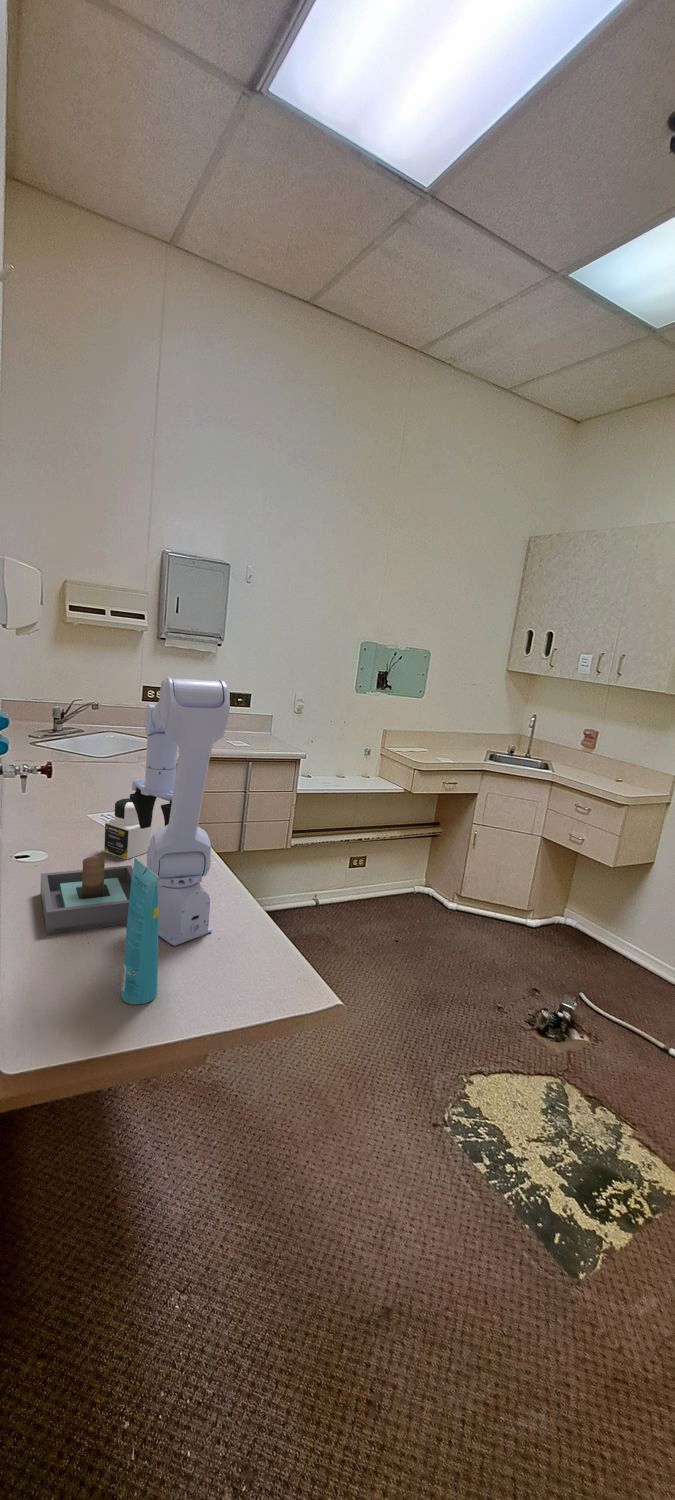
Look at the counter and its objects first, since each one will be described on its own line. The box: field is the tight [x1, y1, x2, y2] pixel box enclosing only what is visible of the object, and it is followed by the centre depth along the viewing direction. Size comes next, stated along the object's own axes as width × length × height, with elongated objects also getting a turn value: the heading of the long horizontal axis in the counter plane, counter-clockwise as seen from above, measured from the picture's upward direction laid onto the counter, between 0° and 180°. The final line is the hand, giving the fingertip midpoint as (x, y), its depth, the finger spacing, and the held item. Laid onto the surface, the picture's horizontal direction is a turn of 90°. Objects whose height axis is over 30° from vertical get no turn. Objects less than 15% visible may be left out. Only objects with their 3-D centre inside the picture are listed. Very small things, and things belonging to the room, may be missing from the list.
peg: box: [82, 856, 106, 899], centre depth 107 cm, size 4×4×8 cm
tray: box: [40, 864, 133, 936], centre depth 108 cm, size 16×16×4 cm
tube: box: [120, 857, 159, 1005], centre depth 83 cm, size 7×5×19 cm, turn 47°
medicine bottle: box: [103, 797, 152, 860], centre depth 134 cm, size 7×7×12 cm
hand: (157, 832), depth 120 cm, fingers open, 7 cm apart
